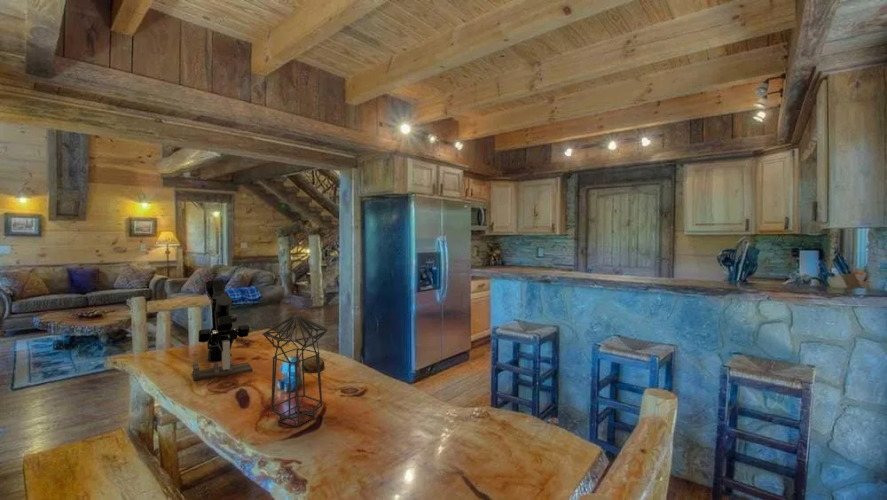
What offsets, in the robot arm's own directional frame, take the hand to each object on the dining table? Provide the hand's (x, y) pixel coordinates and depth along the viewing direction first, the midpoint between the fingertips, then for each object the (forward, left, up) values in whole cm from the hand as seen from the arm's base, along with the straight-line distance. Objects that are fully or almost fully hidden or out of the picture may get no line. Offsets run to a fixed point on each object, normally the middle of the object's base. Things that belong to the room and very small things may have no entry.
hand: (226, 350), depth 162 cm
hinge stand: (-4, -11, -13) cm, 17 cm away
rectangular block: (0, -1, -8) cm, 8 cm away
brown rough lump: (-31, +16, -13) cm, 37 cm away
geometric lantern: (+4, +55, -13) cm, 56 cm away
